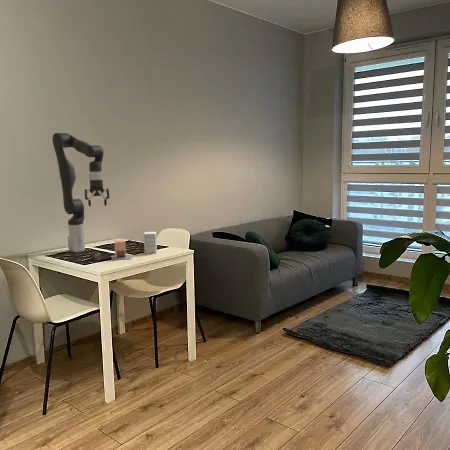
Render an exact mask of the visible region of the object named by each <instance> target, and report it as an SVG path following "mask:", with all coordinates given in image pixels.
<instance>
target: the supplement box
mask: <svg viewBox="0 0 450 450" xmlns="http://www.w3.org/2000/svg"><path fill="white" fill-rule="evenodd" d="M143 245H144V246H143V247H144V249H143V250H144V255H153V254H156V255H157V252H158V248H157V232H156V231H144V233H143Z"/></svg>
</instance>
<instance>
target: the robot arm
mask: <svg viewBox="0 0 450 450" xmlns="http://www.w3.org/2000/svg"><path fill="white" fill-rule="evenodd" d="M52 145H53V149H54V152H55V156H56V161H57V167H58V173H59V178H60V183H61V190H62V196H63V197H62V199H63V200H62V201H63V207H64V211H65V212H66V213H67V214H68V215H72V217H70V218H69V219H68V220H67V226H68V227H67V228H68V236H67V247H68V252H74V253H79V252H83V251H85V250H86V246H85V232H84V231H85V230H84V229H85V227H84V220H85V206H84V202H83V200H82V199H80V198H73V188H74V186H75V183H76V170H75V167H74V165H73V164H72V163H71V161H70V160H69V159H68V157H67V156H66V154H65V150H64V149H66V148H73V149H74V150H75V151H76V152H78V153H81V154H83V155H85V157H88V158H94V160H93V161H90V162H89V163H88V165H89V166H88V167H89V168H88V169H89V175H88V176H89V178H88V179H89V189H84V199H85V200H87V203H88V206H89V207H92V202H91V201H92V200H91V199H92V198H93V197H102V198H103V203H104V204H103V205H104V207H106V206H107V202H108V201H107V200H108V199H110V191H109V190H110V189H109V188H104V183H103V182H104V181H103V179H104V178H103V172H102V171H103V169H102V167H103V166H102V164H103V163H102V162H103V158H104V154H105V153H104V148H103V147H102V146H101V145H92V144H91V143H88V142H87V141H84V140H80V139H78V138H77V137H75V136H74V135H71V134H70V133H67V132H55V133H54V134H53V135H52ZM89 192H90V193H91V194H90V195H89V196H88V193H89ZM104 192H105V193H106V196H105V195H104V194H103V193H104Z"/></svg>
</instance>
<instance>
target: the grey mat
mask: <svg viewBox="0 0 450 450" xmlns="http://www.w3.org/2000/svg"><path fill="white" fill-rule="evenodd" d="M110 257H111V261H112V262H113V261H122V260H123V261H125V260H132V256H131V254H126V258H125V257H124V256H119V257H117V258H116V257H115V255H111V256H110Z"/></svg>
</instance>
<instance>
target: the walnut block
mask: <svg viewBox="0 0 450 450" xmlns="http://www.w3.org/2000/svg"><path fill="white" fill-rule="evenodd" d="M101 259H102V258H101V254H100V253H99V254H98V253H97V254H94V260H95V261H101Z"/></svg>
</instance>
